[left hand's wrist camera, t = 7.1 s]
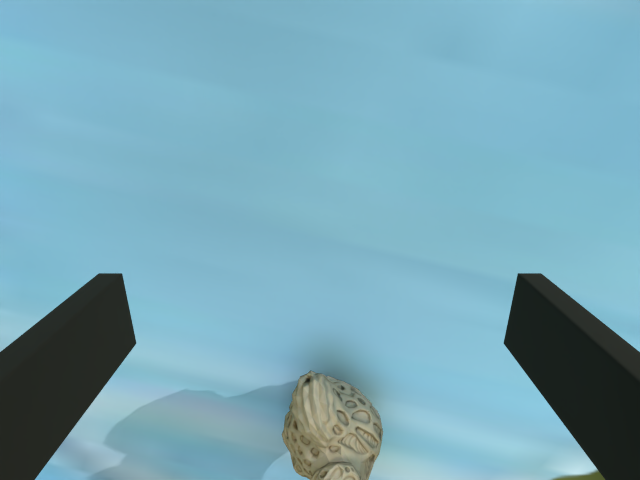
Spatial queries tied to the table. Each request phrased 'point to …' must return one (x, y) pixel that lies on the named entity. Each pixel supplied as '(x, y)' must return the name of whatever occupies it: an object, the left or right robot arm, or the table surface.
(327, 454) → the beige rounded piece
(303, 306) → the table surface
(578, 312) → the left robot arm
